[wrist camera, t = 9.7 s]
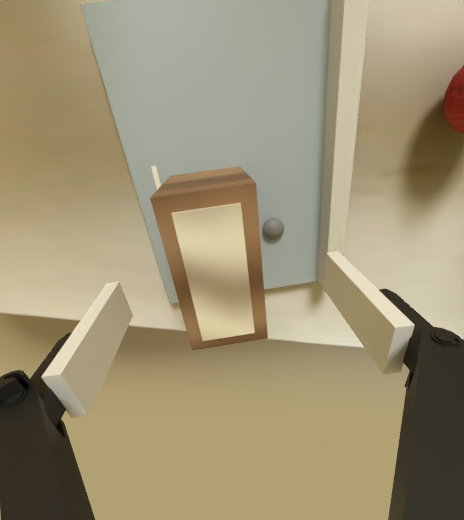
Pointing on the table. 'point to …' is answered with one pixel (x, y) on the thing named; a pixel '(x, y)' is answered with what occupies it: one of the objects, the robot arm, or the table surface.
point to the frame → (214, 254)
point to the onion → (455, 102)
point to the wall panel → (241, 110)
